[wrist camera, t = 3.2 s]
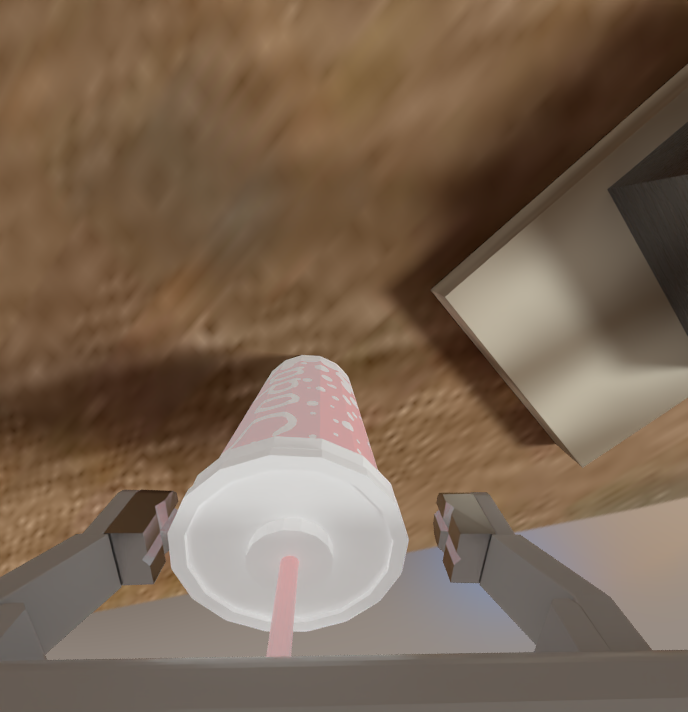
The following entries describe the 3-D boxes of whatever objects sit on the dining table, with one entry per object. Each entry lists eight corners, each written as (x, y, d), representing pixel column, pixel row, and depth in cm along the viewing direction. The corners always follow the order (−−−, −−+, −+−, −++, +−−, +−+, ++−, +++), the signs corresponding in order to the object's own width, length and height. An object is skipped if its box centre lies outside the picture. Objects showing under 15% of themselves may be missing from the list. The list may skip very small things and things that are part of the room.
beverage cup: (362, 333, 16) (546, 804, 3) (371, 439, 18) (499, 1005, 5) (237, 347, 16) (-240, 910, 2) (261, 452, 18) (70, 1064, 5)
